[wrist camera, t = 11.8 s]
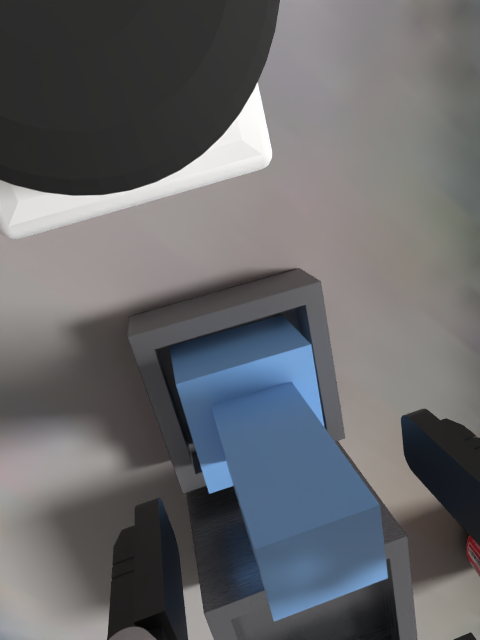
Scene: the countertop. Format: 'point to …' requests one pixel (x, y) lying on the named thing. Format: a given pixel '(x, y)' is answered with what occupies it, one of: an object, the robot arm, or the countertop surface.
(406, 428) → the robot arm
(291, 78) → the countertop surface
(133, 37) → the medicine bottle
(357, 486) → the plug
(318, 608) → the grey square tube
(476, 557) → the soda can
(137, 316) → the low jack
